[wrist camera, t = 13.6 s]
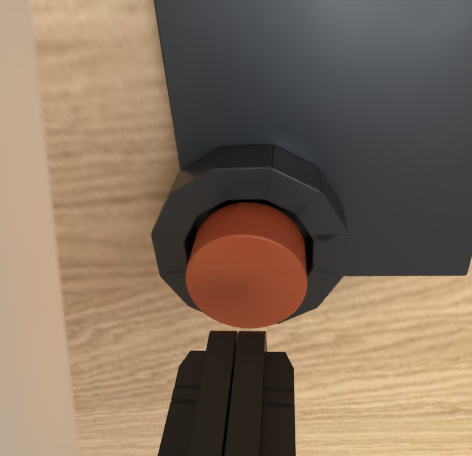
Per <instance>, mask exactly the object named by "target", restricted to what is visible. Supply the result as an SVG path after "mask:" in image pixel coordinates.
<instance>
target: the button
mask: <svg viewBox="0 0 472 456" xmlns="http://www.w3.org/2000/svg"><path fill="white" fill-rule="evenodd" d="M186 286H187V290H188V292H189V295H190V297H191V298H192V300H193V302H194V303H195V304H196V306H197V307H198V308H199V309H200V310H201V311H202V312H204V313H205V314H206V315H208V316H209V317H211V318H212V319H214V320H216V321H218V322H220V323H223V324H226V325H230V326H234V327H240V328H260V327H266V326H270V325H273V324H276V323H278V322H281V321H283V320H284V319H286V318H288V317H289V316H290V315H292V314H293V313H294V312H295V311H296V310H297V309H298V308H299V306H300V305H301V303H302V302H303V299H304V297H305V295H306V291H307V270H306V256H305V243H304V239H303V236H302V234H301V231H300V230H299V228H298V226H297V225H296V224H295V223H294V221H293V220H291V219H290V218H289V217H288V216H287V215H286V214H284V213H283V212H281V211H280V210H278V209H276V208H273V207H271V206H268V205H265V204H261V203H254V202H242V203H235V204H230V205H227V206H224V207H222V208H220V209H218V210H216V211H215V212H213V213H212V214H210V215H209V216H208V217H207V218H206V219H205V220H204V221H203V223H202V224H201V226H200V227H199V229H198V231H197V234H196V238H195V241H194V245H193V248H192V252H191V255H190V259H189V262H188V266H187V270H186Z"/></svg>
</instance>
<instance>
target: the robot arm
mask: <svg viewBox="0 0 472 456" xmlns="http://www.w3.org/2000/svg"><path fill="white" fill-rule="evenodd" d="M171 399H172V401H171V403H170V407H169V411H168V415H167V419H166V424H165V428H164V432H163V436H162V440H161V444H160V449H159V453H158V456H296V450H295V406H294V368H293V366H292V364H291V362H290V360H289V358H288V356H287V354H286V353H285V352H267V340H266V331H239V333H238V332H237V331H210V333H209V338H208V343H207V348H206V351H190V352H189V354H188V355H187V356H186V358H185V359H184V360H183V362H182V363H181V364H180V366H179V369H178V373H177V378H176V382H175V388H174V390H173V394H172V398H171Z"/></svg>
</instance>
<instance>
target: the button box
mask: <svg viewBox="0 0 472 456" xmlns="http://www.w3.org/2000/svg"><path fill="white" fill-rule="evenodd" d="M154 6H155V12H156V19H157V25H158V32H159V38H160V44H161V51H162V57H163V63H164V70H165V76H166V83H167V89H168V95H169V102H170V108H171V114H172V121H173V127H174V133H175V140H176V146H177V153H178V159H179V165H180V172H179V173H178V174H177V177H176V179H175V181H174V183H173V185H172V188H171V190H170V192H169V194H168V196H167V199H166V201H165V203H164V205H163V207H162V210H161V212H160V214H159V216H158V219H157V221H156V223H155V226H154V228H153V230H152V235H151V237H152V241H153V246H154V251H155V255H156V260H157V265H158V269H159V274H160V276H161V277H162V279H163V280H164V281H165V282H166V283H167V284H168V285H169V286H170V287H171V288H172V289H173V290H174V291H175V292H176V293H177V295H178V296H179V297H180V298H181V299H182V300H183V301H184V302H185V303H186V304H187V305H188V306H190V307H191V308H194V309H196V310H199V311H201V310H200V309H199V308H198V307H197V306H196V304H195V303H194V302H193V300H192V298H191V297H190V295H189V292H188V290H187V286H186V270H187V266H188V262H189V259H190V255H191V252H192V248H193V245H194V241H195V238H196V234H197V231H198V229H199V227H200V226H201V224H202V223H203V221H204V220H205V219H206V218H207V217H208V216H209V215H210V214H212V213H213V212H215V211H216V210H218V209H220V208H222V207H224V206H227V205H230V204H235V203H242V202H254V203H261V204H265V205H268V206H271V207H273V208H276V209H278V210H280V211H281V212H283V213H284V214H286V215H287V216H288V217H289V218H290V219H291V220H293V221H294V223H295V224H296V225H297V226H298V228H299V230H300V231H301V234H302V236H303V239H304V243H305V256H306V270H307V291H306V295H305V297H304V299H303V302H302V303H301V305H300V306H299V308H298V309H297V310H296V311H295V312H294V313H293V314H292V315H290V316H289V317H288V318H286V319H284V320H283V321H281V322H284V321H286V320H289V319H291V318H293V317H296V316H298V315H301V314H303V313H306V312H308V311H310V310H313V309H315V308H317V307H318V306H319V305H320V304H321V303H322V302H323V300H324V299H325V298H326V297H327V296H328V294H329V293H330V292H331V291H332V290H333V288H334V287H335V286H336V285H337V283H338V282H339V281H340V280H341V279H342V277H343V276H465V275H467V272H468V268H469V265H470V261H471V257H472V0H154ZM201 312H202V311H201ZM281 322H278V323H277V324H279V323H281Z"/></svg>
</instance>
